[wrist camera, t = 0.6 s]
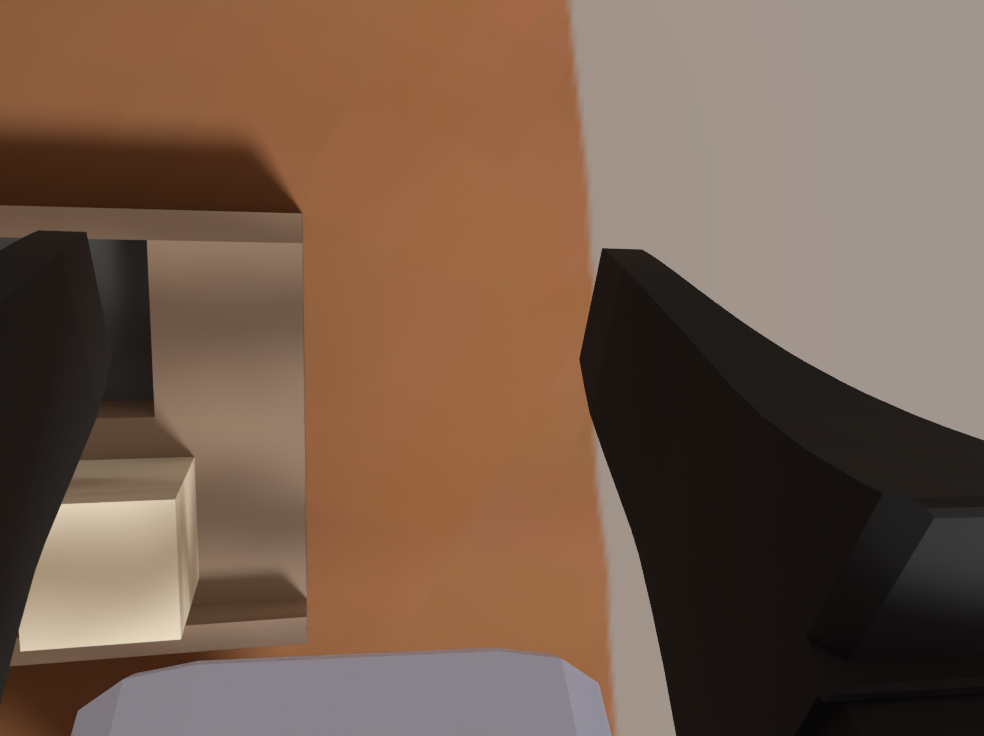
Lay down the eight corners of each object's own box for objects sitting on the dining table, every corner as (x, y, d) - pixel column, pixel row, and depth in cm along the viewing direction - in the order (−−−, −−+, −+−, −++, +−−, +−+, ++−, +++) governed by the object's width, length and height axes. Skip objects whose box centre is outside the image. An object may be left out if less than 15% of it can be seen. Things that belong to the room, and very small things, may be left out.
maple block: (199, 577, 30) (180, 639, 26) (62, 586, 29) (20, 651, 25) (194, 456, 29) (175, 499, 25) (54, 461, 28) (9, 506, 24)
